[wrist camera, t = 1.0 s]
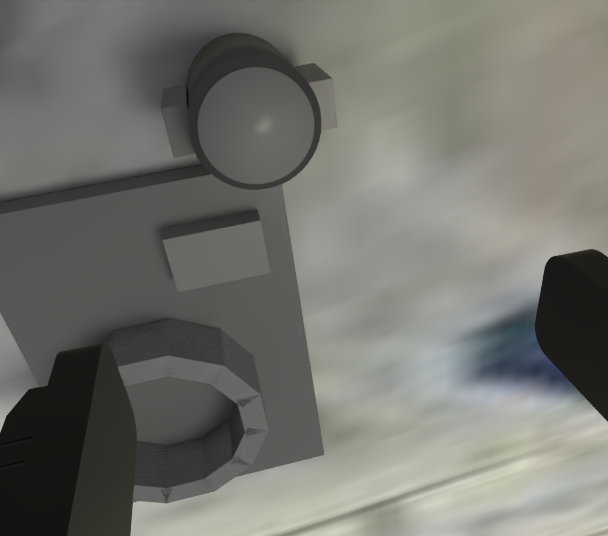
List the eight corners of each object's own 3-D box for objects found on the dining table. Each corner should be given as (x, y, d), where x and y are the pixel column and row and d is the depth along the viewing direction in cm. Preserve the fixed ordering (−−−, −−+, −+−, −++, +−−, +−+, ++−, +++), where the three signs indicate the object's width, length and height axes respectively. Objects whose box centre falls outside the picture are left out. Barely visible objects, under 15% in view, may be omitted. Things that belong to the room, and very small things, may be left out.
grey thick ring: (241, 302, 27) (247, 340, 24) (271, 434, 32) (279, 477, 30) (41, 345, 26) (24, 390, 23) (105, 474, 31) (98, 523, 29)
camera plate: (273, 151, 25) (282, 170, 23) (319, 436, 36) (328, 470, 33) (-35, 208, 24) (-58, 235, 21) (108, 488, 34) (102, 526, 32)
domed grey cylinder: (302, 21, 22) (338, 42, 17) (314, 128, 25) (349, 174, 20) (155, 45, 22) (147, 75, 17) (183, 152, 24) (183, 207, 19)
